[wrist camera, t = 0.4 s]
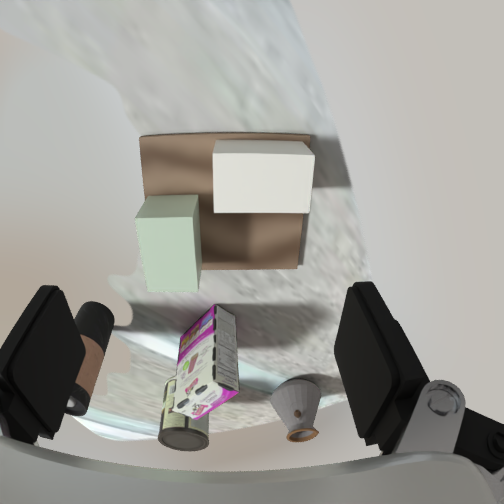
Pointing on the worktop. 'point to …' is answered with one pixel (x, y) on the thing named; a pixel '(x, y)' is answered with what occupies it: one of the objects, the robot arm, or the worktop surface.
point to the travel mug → (90, 353)
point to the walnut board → (213, 224)
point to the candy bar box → (207, 364)
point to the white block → (262, 176)
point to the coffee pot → (297, 408)
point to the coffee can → (181, 425)
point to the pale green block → (170, 243)
